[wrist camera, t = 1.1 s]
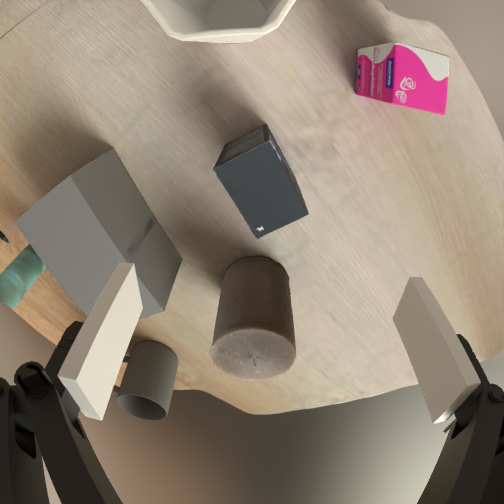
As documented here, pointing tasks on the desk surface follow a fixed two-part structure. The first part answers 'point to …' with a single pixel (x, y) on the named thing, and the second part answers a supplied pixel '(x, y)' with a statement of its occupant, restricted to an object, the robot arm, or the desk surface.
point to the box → (260, 182)
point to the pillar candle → (254, 321)
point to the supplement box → (403, 76)
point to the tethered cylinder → (20, 276)
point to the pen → (3, 237)
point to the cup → (218, 18)
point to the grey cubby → (101, 235)
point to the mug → (148, 381)
